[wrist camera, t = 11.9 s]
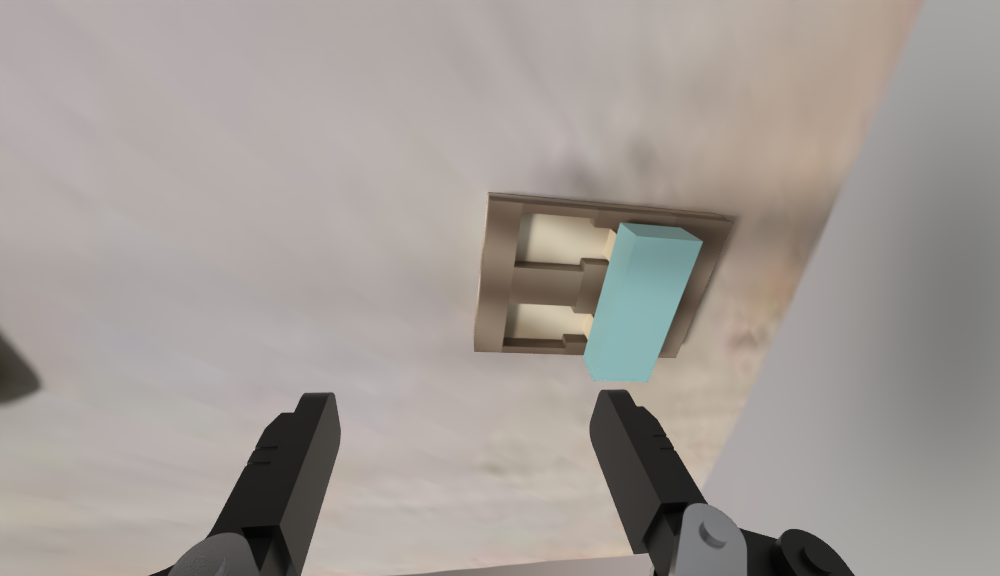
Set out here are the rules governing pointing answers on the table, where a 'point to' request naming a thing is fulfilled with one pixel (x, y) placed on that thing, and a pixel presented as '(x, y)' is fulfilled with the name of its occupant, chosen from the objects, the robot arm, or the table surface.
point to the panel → (637, 299)
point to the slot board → (568, 270)
